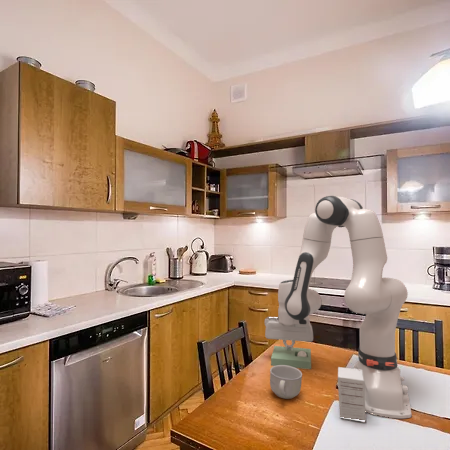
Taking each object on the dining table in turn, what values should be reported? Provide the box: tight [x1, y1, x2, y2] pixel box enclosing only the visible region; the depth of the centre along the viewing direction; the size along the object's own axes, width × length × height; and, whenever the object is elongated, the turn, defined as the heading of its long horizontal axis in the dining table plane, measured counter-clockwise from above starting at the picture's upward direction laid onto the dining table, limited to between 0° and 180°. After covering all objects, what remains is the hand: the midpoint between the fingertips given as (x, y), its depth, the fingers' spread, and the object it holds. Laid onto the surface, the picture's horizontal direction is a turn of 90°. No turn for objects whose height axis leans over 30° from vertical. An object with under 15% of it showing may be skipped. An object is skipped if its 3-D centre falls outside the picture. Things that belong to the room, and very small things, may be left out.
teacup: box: [269, 365, 303, 400], centre depth 109 cm, size 14×11×8 cm
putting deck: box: [270, 345, 312, 370], centre depth 138 cm, size 14×16×3 cm
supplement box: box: [337, 366, 367, 422], centre depth 98 cm, size 7×7×13 cm
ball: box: [297, 351, 307, 357], centre depth 137 cm, size 4×4×4 cm
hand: (289, 349), depth 138 cm, fingers closed
